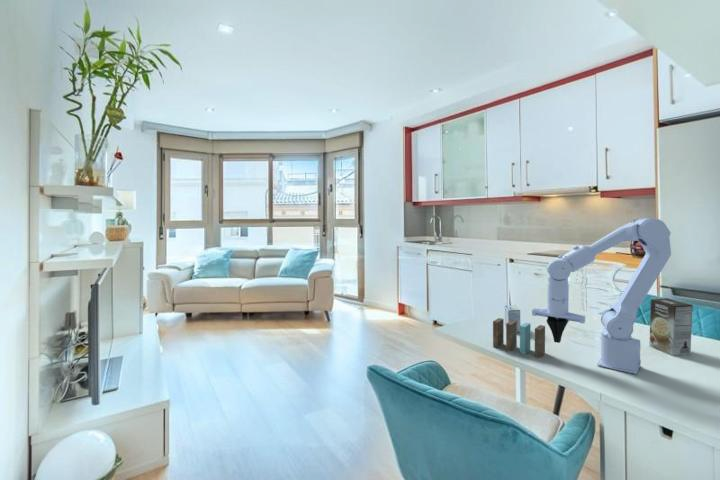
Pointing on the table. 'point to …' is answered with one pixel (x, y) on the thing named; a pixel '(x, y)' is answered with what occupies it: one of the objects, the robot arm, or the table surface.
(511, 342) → the domino
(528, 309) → the table surface
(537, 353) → the domino
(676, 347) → the coffee box
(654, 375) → the table surface
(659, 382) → the table surface
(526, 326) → the domino
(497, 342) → the end domino
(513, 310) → the medicine box
